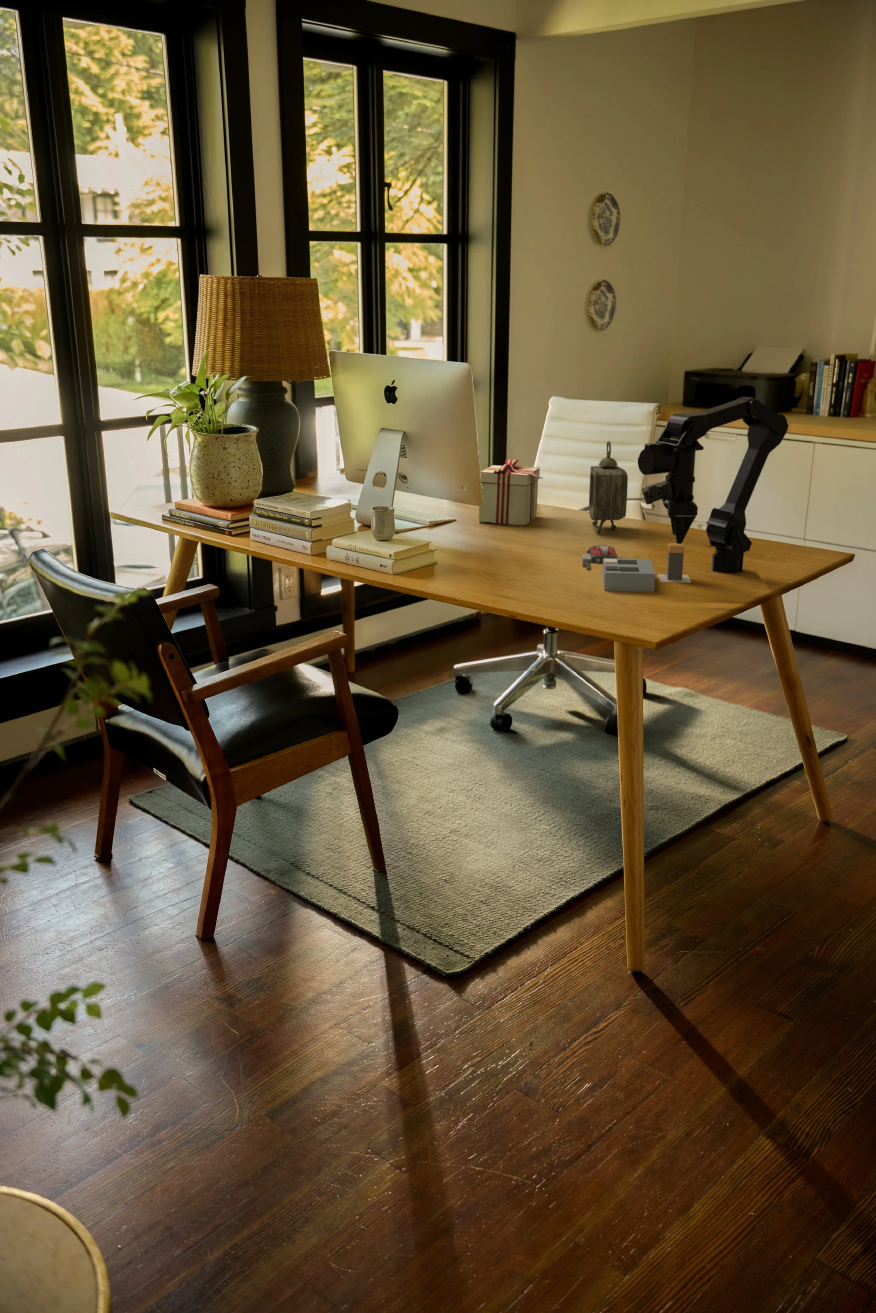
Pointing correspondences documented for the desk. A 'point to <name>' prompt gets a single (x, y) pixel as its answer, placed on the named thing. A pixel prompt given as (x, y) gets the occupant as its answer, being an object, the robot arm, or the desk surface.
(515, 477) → the gift box
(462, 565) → the desk surface
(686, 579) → the plate
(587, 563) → the red grey elongated piece
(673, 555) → the plug
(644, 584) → the port block
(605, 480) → the tabletop clock
